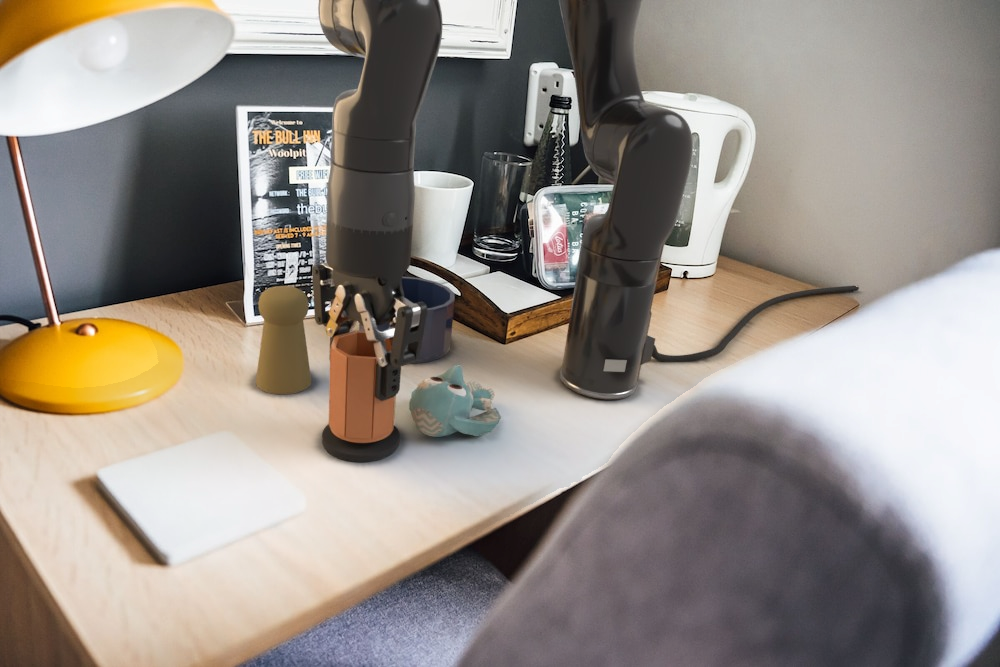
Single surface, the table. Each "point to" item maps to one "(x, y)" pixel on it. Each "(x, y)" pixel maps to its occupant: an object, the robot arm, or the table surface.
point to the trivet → (360, 447)
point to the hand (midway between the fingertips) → (362, 383)
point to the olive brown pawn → (283, 341)
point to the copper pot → (357, 391)
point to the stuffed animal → (452, 405)
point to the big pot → (430, 316)
